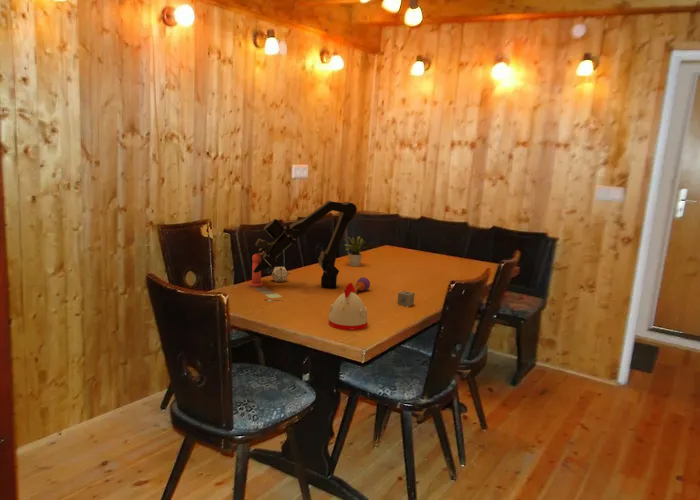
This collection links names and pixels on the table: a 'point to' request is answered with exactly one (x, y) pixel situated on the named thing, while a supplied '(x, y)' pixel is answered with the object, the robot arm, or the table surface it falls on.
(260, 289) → the board
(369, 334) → the table surface
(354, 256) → the house plant
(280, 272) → the game die
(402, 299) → the grey symbol cube
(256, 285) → the pawn
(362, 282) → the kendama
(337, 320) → the kitchen timer
